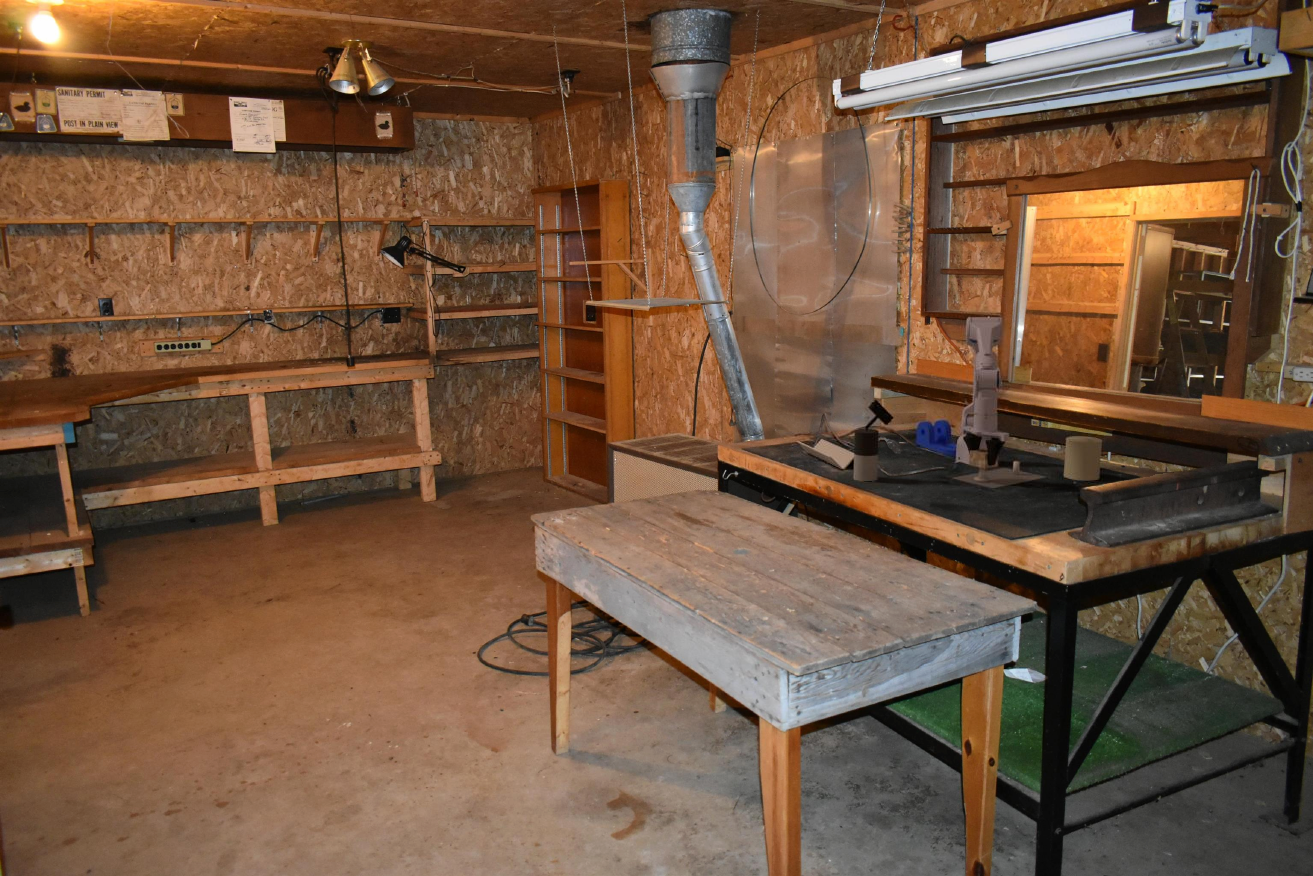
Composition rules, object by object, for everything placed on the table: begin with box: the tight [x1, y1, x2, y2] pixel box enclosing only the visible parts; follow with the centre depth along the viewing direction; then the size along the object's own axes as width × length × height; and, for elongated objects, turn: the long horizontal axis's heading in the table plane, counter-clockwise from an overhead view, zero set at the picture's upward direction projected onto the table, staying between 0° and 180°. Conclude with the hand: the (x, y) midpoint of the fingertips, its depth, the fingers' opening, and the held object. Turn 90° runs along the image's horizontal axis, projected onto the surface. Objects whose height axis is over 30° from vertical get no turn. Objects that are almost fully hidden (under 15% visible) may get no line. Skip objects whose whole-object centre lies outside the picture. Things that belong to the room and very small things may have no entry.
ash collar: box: [968, 449, 999, 469], centre depth 251 cm, size 5×5×4 cm
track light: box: [853, 399, 894, 482], centre depth 259 cm, size 6×17×20 cm
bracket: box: [915, 419, 957, 457], centre depth 295 cm, size 18×8×9 cm, turn 18°
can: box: [1063, 435, 1103, 482], centre depth 254 cm, size 9×9×12 cm
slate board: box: [951, 460, 1046, 493], centre depth 255 cm, size 14×22×5 cm, turn 121°
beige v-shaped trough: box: [796, 438, 854, 470], centre depth 284 cm, size 12×25×6 cm
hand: (982, 463), depth 251 cm, fingers closed on ash collar, 5 cm apart
